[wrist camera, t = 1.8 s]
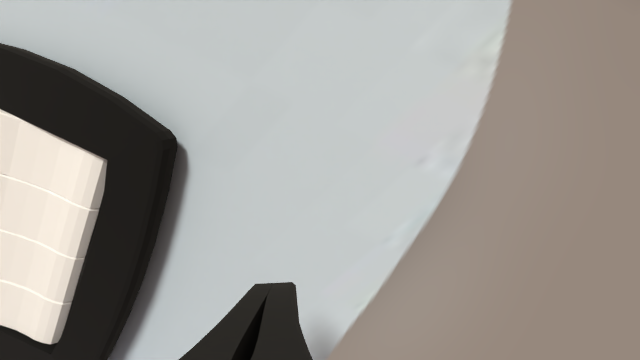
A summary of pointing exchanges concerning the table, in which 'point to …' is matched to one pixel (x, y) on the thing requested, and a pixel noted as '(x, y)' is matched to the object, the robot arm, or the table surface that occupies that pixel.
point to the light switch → (73, 208)
